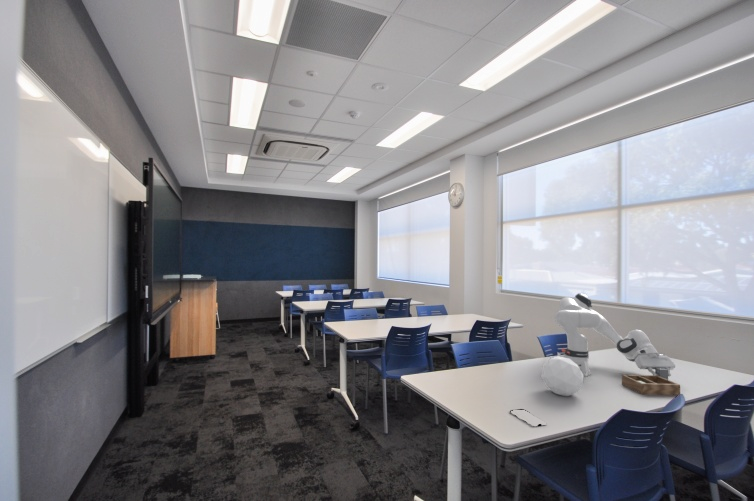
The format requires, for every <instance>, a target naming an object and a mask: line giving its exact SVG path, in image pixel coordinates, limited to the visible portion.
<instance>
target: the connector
mask: <svg viewBox="0 0 754 501" xmlns="http://www.w3.org/2000/svg"><path fill="white" fill-rule="evenodd" d="M654 372H657V374H658V375H657V376H660V377H662V378H665V379H667V380H669V376H668V370H667V369H664V368H655V369H654Z"/></svg>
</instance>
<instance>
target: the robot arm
mask: <svg viewBox="0 0 754 501" xmlns="http://www.w3.org/2000/svg"><path fill="white" fill-rule="evenodd" d="M559 307H560V310H558V311H557V312H555V314H554V320H555V322H556V324H557V326H559V327H561V328H562V330H563V331H564V332H565V335H566V339H567V341H566V342H567V348H566V349H565V348H561V352H563V353H564V354H563V355H561V356H562V357H564V358H569V359H571V360H572V361H573V362H574V363H575V364H577V365H578V367H579V368H580V370H581V371H582V373H583V378H585V377H586V378H587V377H589V376H590V375H591V374H592V373H591V370H590V366H589V364H590V363H589V349H588V346H589V344H588V341H589V340H588V338H587V337H586V335H584V334H583V333H580V332H579V331H578V329H592V330H593V331H595V332H596V333H598V334H599V335H601V336H603V337H604V338H606V339H607V340H609V341H611V342H612V343H613V344H614V345H615V346H616V349H617V350H618V352H619V353H621V354H622V355H623V356H624V357H625V358H626V359H627V361H630V362H634V363H635V364H636V366H637V368H639V369H640V370H647V371H648V372H649V373H650V374H651V375H658V374H657V372H655V368H664V369H667V370H668V377H671V376H672V374H671V373H670V371H672V370H674V369H675V368H676V364H675V363H674V361H673V360H672V359H671V358H670V357H669V356H668V355H666V354H664V353H663V354H660V353H659V352H658V351H657V349H656V347H655V346H654V345H653V344H652V342H651V340H650V338H649V336H648V335H647V334H646V333H645V332H644V330H640V329H633V330H630V331H629V332H628V333H627V335H626V336H625V337H622V336H621V335H620V334H618V332H617V330H616V329H614V327H613V326H612V324H610V322H609V321H608V320H607V319H606V318H605V316H603V315H602V314H600V313H599V312H598V311H596V310H594V309H593V305H592V300H591V298H590V297H589V296H588V295H587V294H584V293H577V294H576V295H575V296H574V297H573V298H572V297H569V296H564V297H562V298H561V299H560V301H559Z"/></svg>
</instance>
